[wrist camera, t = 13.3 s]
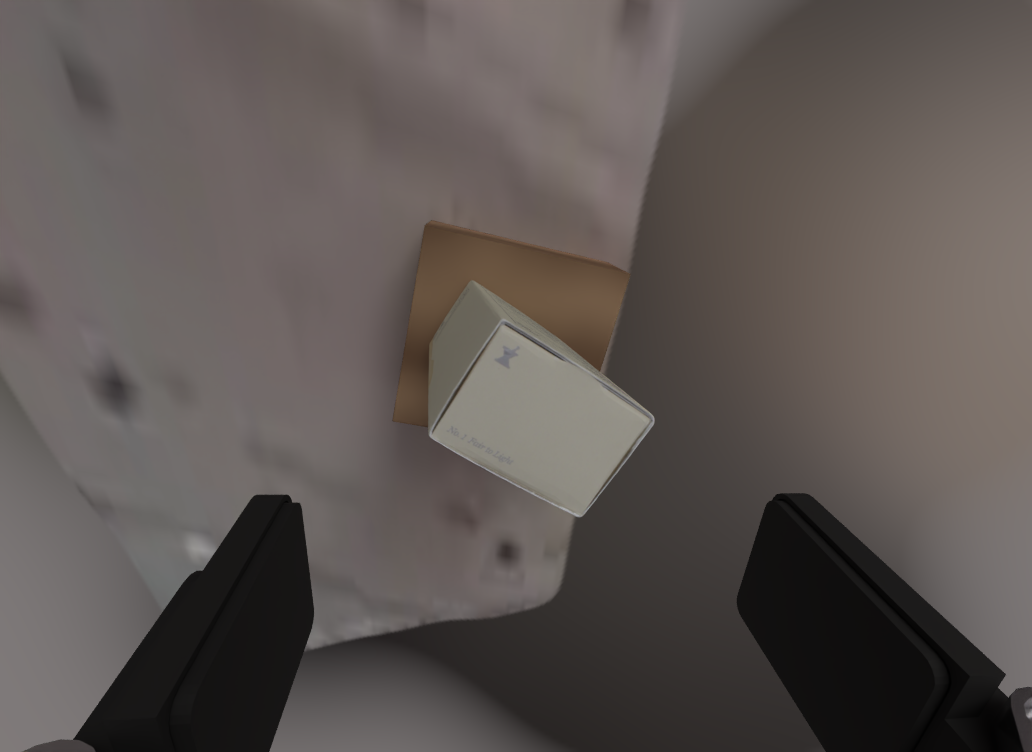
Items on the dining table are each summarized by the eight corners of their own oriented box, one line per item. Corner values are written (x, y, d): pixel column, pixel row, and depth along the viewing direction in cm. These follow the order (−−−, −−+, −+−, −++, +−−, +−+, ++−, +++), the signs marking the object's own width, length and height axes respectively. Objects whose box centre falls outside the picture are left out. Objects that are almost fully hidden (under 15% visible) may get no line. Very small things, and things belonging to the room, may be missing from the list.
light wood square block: (431, 219, 29) (424, 225, 24) (605, 261, 30) (630, 274, 26) (403, 387, 32) (392, 421, 27) (560, 416, 34) (574, 451, 29)
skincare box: (427, 344, 26) (413, 436, 14) (472, 274, 25) (497, 310, 13) (522, 403, 27) (579, 527, 16) (567, 339, 27) (661, 420, 15)
